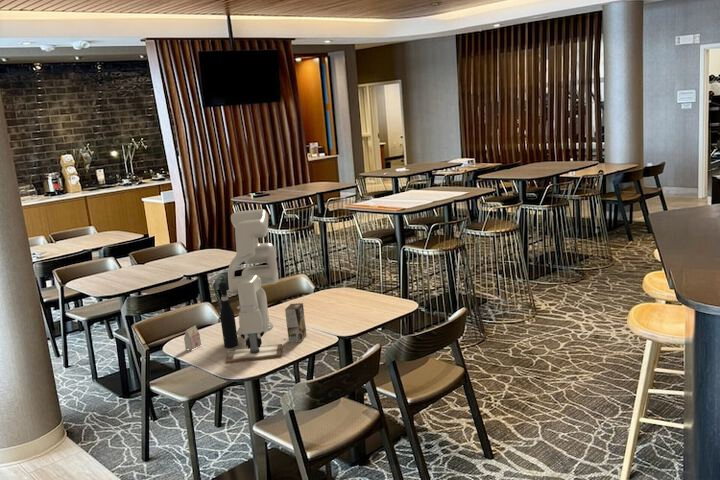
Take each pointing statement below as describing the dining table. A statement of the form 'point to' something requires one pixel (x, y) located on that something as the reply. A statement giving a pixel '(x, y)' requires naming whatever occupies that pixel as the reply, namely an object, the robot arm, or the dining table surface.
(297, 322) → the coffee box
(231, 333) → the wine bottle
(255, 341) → the marker
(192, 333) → the red and white box
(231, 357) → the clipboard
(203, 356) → the dining table surface
